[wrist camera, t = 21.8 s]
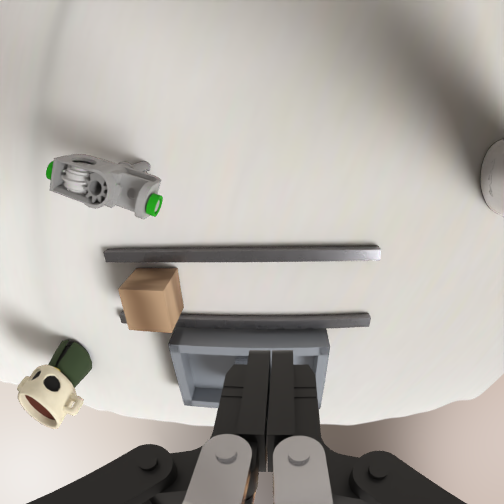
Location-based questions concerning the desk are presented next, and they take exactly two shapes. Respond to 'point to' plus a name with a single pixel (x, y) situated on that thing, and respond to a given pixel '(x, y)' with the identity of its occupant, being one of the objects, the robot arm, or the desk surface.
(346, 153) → the desk surface
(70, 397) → the character mug
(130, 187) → the mechanical component
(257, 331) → the tray
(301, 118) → the desk surface
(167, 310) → the slider
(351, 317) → the slide rails
